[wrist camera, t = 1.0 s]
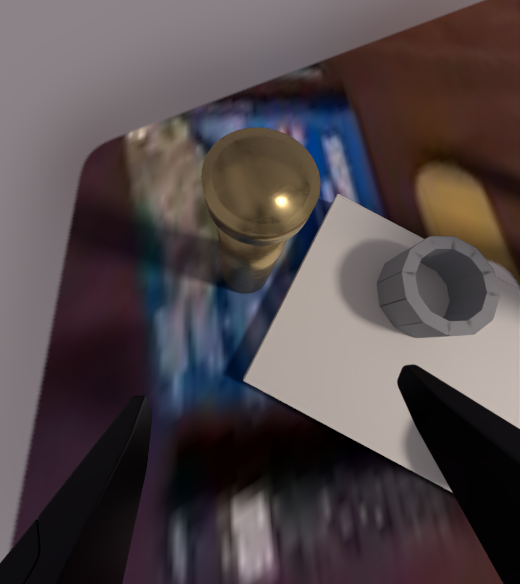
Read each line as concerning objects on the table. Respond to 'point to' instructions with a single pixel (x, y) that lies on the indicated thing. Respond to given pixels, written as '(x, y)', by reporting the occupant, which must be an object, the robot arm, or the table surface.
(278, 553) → the table surface
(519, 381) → the socket plate
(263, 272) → the disc
